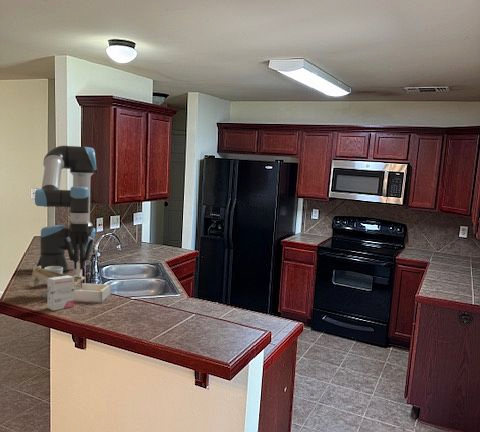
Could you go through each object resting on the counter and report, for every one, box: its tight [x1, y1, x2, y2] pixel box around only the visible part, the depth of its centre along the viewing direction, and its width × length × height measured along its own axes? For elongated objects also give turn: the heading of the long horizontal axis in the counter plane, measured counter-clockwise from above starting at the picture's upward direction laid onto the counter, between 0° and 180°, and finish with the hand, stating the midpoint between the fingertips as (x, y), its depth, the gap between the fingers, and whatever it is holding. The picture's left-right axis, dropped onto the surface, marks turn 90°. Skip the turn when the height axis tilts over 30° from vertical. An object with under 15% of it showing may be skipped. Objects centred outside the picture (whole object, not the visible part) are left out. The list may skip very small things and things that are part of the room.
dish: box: [74, 282, 112, 304], centre depth 186 cm, size 12×12×4 cm
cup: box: [42, 266, 64, 286], centre depth 202 cm, size 11×8×8 cm
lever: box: [29, 266, 86, 290], centre depth 190 cm, size 15×17×8 cm
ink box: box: [46, 275, 75, 311], centre depth 171 cm, size 9×5×12 cm, turn 137°
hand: (79, 276), depth 194 cm, fingers closed
